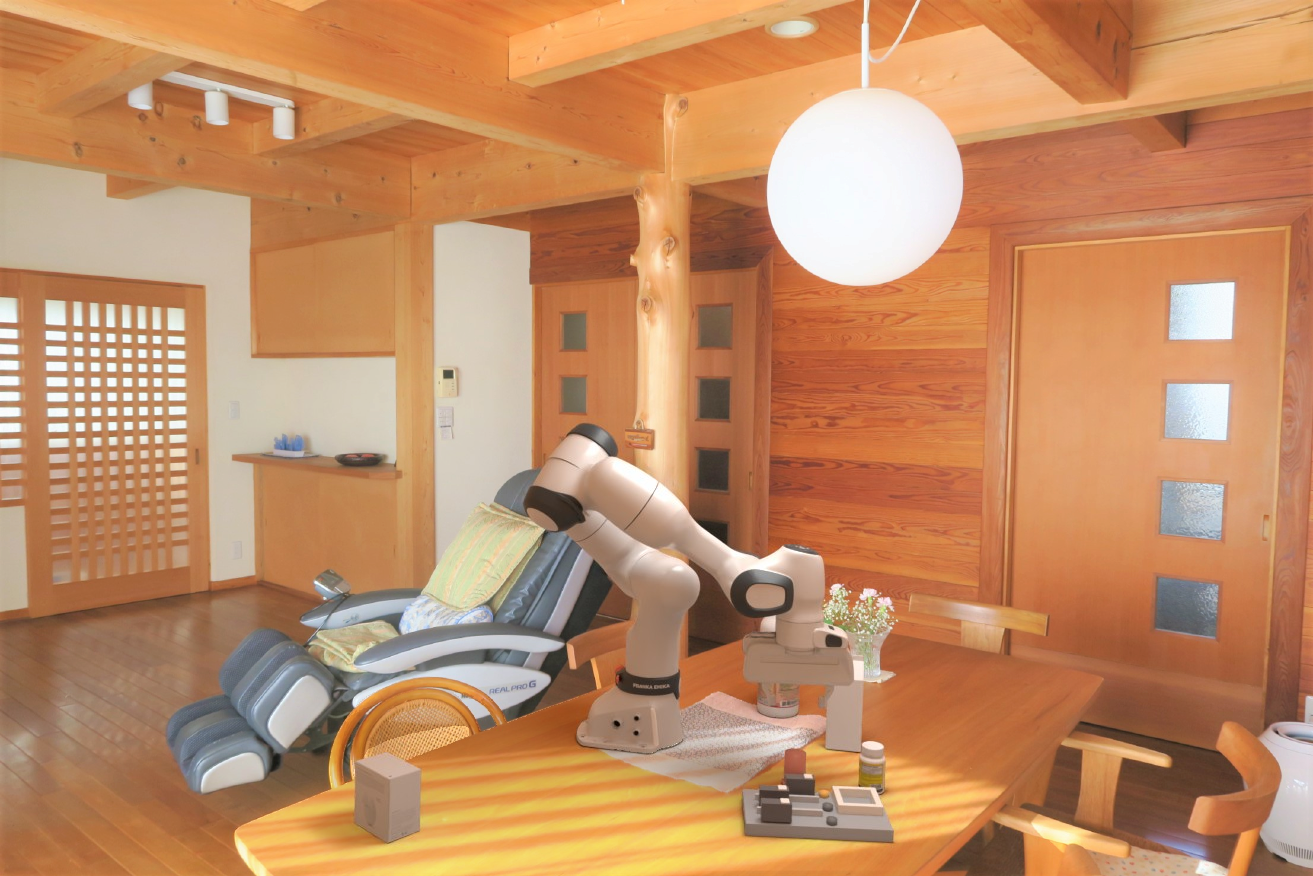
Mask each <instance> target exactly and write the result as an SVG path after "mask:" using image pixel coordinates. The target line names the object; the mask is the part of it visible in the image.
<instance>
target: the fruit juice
mask: <svg viewBox="0 0 1313 876" xmlns="http://www.w3.org/2000/svg"><path fill="white" fill-rule="evenodd" d="M775 622H776V615H775V616H769V617H762V620H761V622H760V627H759V632H775ZM774 638H775V637H774ZM800 685H801V684H779V683H770V688H769V689H768V690H769V692H770V694H773V695H775V697H776V702H775V703H776V706H768V705H767V696H766V694H765V692H764V690H763V689H762V683H757V697H756V699H757V700H756V705H757V711H758V712H759V713H760V714H761V715H764V716H767V717H770V718H775V717H776V718H778V719H784V718H785V719H788V718H793V717H794V716H796V715H798V713H799V707H800Z"/></svg>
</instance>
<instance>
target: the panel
mask: <svg viewBox="0 0 1313 876" xmlns="http://www.w3.org/2000/svg"><path fill="white" fill-rule="evenodd" d="M741 795H742V796H741V797H742V799H741V800H742V802H741V803H742V811H743V820H744V821H743V822H744V832H745V836H748V837H749V836H752V837H767V838H769V837H770V838H788V839H789V838H793V839H810V840H811V839H812V840H813V839H814V840H815V839H816V840H834V841H835V840H836V841H837V840H839V841H858V842H876V843H894V828H893V826H892V823H891V822H890V818H889V817H888V814H887V811H886V809H885V807H884V805H883V802H882V799H881V797H880V794H879V795H878V793H877V791H876V789H875V788H872V787H859V786H843V785H842V786H841V785H832V786H831V792H830V791H829V790H827V789H823V788H822V789H819V790H818V791H815V796H809V795H789V799H791V801H792V823H791V822H769V821H761V816H760V811H761V806H759V788H758V789H754V788H752V789H751V788H742V794H741Z"/></svg>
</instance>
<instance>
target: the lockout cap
mask: <svg viewBox="0 0 1313 876" xmlns="http://www.w3.org/2000/svg"><path fill="white" fill-rule="evenodd" d="M783 755H784V756H783V778H782V779H781V785H785V774H802V775H804V774H807V773H806V772H807V752H806V751H805V750H803V749H800V748H792V747H791V748H787V749H785V750H784V754H783Z"/></svg>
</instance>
